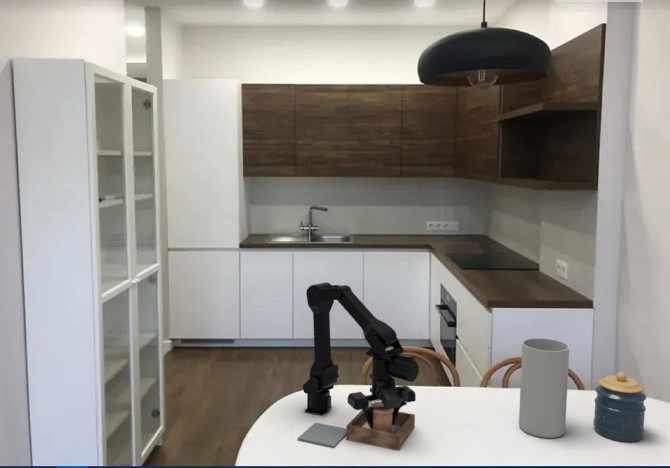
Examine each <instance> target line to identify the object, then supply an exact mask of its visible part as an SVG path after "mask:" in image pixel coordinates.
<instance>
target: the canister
mask: <svg viewBox="0 0 670 468" xmlns="http://www.w3.org/2000/svg"><path fill="white" fill-rule="evenodd" d="M644 389H645V388H644V386H643V384H641V383H639V382H638V381H637V380H636V379H635V378H631V377H627V374H626V373H625V372H622V371H619V372H617V373H616V374H615V375H613V374H612V375H606V376H605V377H602V378H600V379H599V380H598V385H597V386H595V389H594V390H595V392H596V397H595V398H594V415H593V416H594V417H593V428H594V430H595V432H596V433H597V434H599V435H600V436H602V437H604V438H607V439H610V440H614V441H618V442H625V443H634V442H638V441H641V440H642V439H643V437H644V435H645V416H646V415H645V414H646V413H645V412H646V410H647V409H646V406H645V400H646V399H647V394H646V393H645V392H644Z"/></svg>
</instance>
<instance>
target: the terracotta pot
mask: <svg viewBox="0 0 670 468" xmlns="http://www.w3.org/2000/svg"><path fill="white" fill-rule="evenodd" d="M371 406H372V407H373V408H374V410H373V428H372V429H375V430H380V431H385V432H390V433H393V425H392V413H393V412H394V408H391V409H386V408H385V407H384V405H383V403H382V402H381V401H376V402H372V403H371Z"/></svg>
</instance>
